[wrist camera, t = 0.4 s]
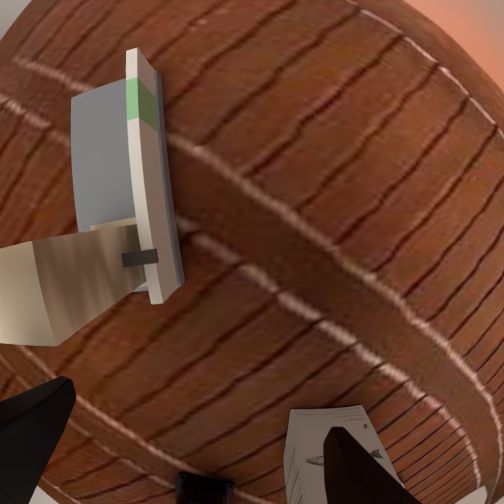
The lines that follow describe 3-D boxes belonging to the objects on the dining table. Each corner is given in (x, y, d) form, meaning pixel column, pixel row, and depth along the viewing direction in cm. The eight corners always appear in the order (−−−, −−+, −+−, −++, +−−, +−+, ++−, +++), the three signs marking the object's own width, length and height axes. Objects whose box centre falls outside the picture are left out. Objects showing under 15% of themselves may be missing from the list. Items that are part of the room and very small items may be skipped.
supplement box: (363, 402, 25) (413, 496, 12) (347, 452, 26) (378, 540, 13) (288, 406, 25) (307, 516, 12) (280, 457, 26) (290, 554, 13)
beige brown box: (181, 280, 21) (106, 359, 9) (105, 289, 21) (0, 352, 9) (170, 211, 20) (74, 215, 8) (94, 225, 21) (-27, 244, 8)
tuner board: (185, 281, 23) (166, 303, 18) (98, 291, 23) (65, 310, 18) (161, 77, 21) (140, 46, 15) (79, 102, 21) (46, 83, 15)
